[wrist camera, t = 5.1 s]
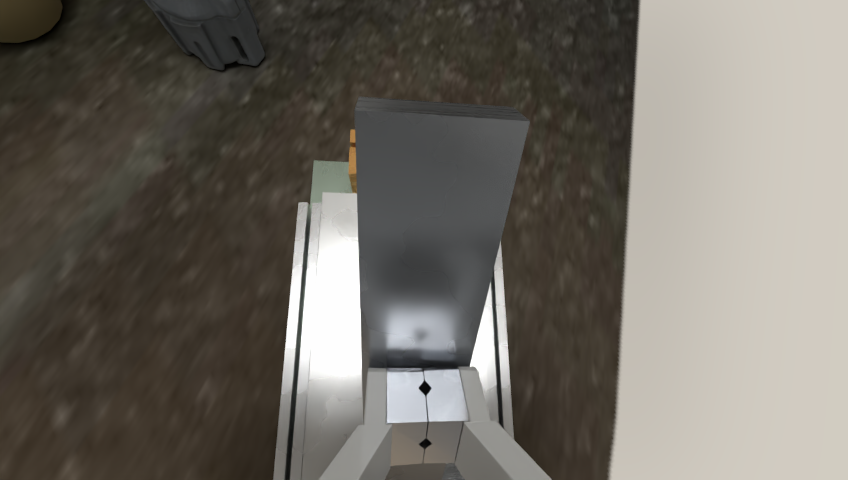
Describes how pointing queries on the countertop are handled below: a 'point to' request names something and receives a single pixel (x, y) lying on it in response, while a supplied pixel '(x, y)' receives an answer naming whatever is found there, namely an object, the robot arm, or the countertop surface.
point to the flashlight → (212, 29)
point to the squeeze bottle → (27, 19)
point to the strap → (429, 230)
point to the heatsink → (351, 333)
